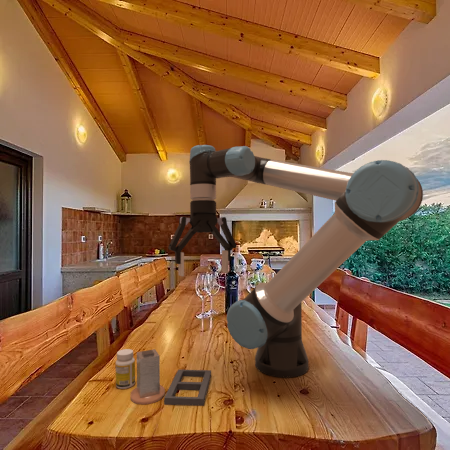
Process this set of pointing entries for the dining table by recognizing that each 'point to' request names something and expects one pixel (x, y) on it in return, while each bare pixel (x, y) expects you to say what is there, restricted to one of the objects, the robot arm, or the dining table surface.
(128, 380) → the supplement bottle
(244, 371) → the dining table surface
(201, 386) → the grey double frame
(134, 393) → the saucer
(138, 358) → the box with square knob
